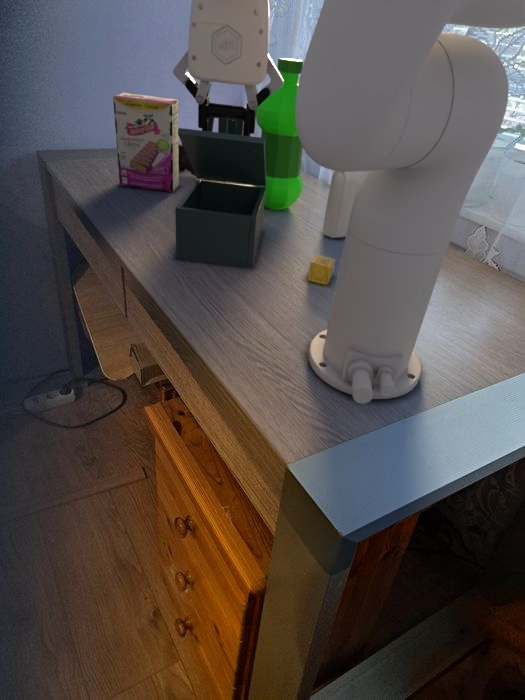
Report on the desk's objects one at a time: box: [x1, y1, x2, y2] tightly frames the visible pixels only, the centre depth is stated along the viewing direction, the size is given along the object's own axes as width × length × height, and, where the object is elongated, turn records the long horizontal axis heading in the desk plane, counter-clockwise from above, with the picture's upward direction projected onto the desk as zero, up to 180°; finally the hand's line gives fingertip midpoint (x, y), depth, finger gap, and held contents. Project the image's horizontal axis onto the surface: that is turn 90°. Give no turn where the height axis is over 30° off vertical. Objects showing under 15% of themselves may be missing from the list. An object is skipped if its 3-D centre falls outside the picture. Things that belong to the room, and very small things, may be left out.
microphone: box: [178, 144, 224, 182], centre depth 105 cm, size 6×6×20 cm
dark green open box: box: [174, 178, 266, 269], centre depth 76 cm, size 15×12×8 cm
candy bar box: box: [112, 92, 180, 193], centre depth 94 cm, size 11×5×16 cm, turn 84°
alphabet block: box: [307, 254, 336, 286], centre depth 71 cm, size 3×3×3 cm
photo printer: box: [322, 170, 368, 239], centre depth 84 cm, size 10×4×12 cm, turn 124°
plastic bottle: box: [253, 57, 304, 211], centre depth 89 cm, size 10×10×25 cm
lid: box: [178, 102, 267, 186], centre depth 72 cm, size 15×12×6 cm
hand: (226, 135), depth 68 cm, fingers closed on lid, 5 cm apart
